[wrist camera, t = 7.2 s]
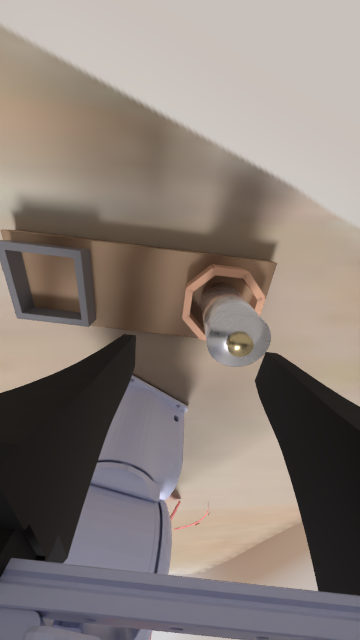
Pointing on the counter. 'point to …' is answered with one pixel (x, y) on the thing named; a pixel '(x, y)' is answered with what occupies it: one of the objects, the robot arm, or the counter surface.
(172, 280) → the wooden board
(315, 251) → the counter surface
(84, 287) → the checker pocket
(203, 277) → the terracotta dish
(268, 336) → the steel cell
